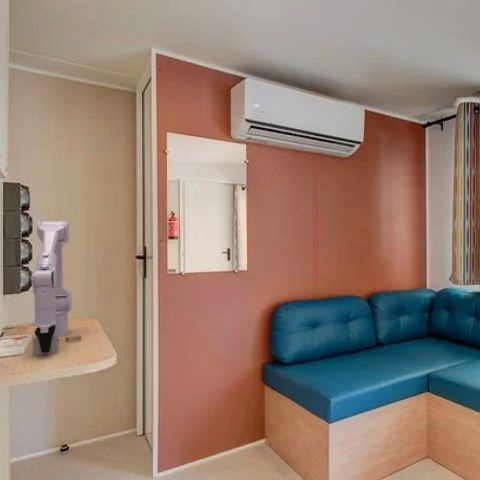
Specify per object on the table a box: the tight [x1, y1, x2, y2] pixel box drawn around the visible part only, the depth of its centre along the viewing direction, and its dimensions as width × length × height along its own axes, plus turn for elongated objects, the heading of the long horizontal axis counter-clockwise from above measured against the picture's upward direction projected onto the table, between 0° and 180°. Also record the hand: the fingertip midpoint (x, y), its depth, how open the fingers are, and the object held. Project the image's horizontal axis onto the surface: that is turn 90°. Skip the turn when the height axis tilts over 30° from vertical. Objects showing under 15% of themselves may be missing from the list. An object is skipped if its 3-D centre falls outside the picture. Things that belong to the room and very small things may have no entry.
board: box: [32, 335, 59, 357], centre depth 115 cm, size 2×7×6 cm, turn 116°
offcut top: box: [65, 334, 82, 344], centre depth 128 cm, size 4×4×2 cm
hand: (45, 350), depth 115 cm, fingers open, 3 cm apart
